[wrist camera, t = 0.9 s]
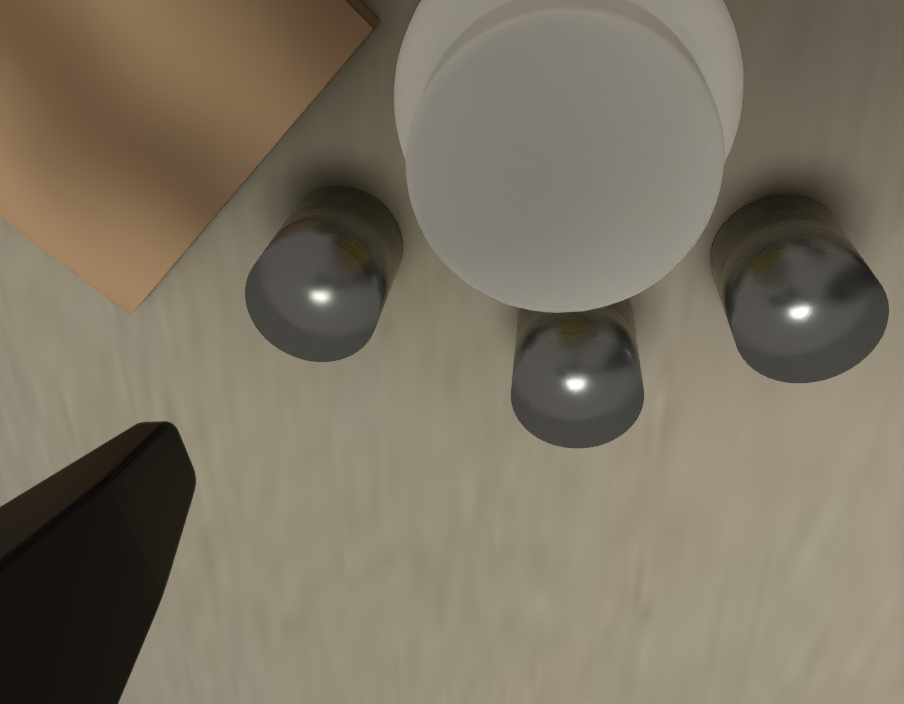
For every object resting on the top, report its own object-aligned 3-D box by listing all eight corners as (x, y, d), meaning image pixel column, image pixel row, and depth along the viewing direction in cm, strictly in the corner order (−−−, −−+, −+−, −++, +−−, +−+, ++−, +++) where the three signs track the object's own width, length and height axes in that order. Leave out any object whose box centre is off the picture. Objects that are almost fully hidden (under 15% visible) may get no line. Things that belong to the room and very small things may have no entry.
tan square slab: (-53, -413, 15) (-82, -424, 14) (380, 21, 18) (373, 29, 18) (-220, 24, 20) (-247, 31, 20) (142, 301, 24) (130, 315, 23)
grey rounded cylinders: (616, -1066, 11) (635, -1411, 8) (1224, 17, 16) (1367, 56, 14) (6, 23, 19) (-91, 56, 17) (542, 473, 25) (539, 556, 22)
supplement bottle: (407, -53, 18) (271, 46, 9) (650, -167, 16) (740, -167, 8) (496, 168, 20) (450, 397, 12) (713, 89, 18) (832, 292, 10)
